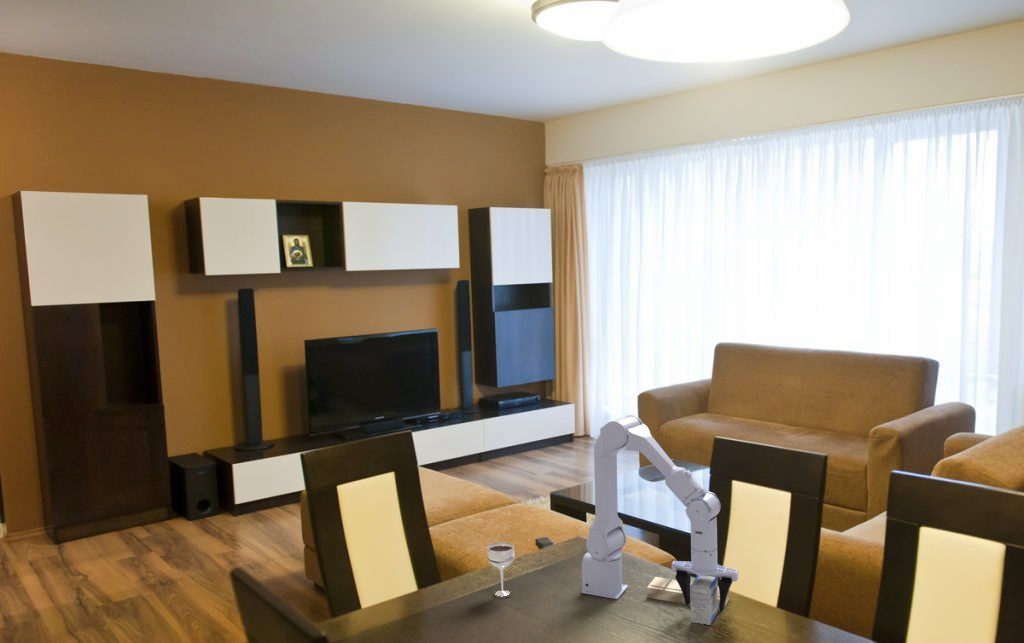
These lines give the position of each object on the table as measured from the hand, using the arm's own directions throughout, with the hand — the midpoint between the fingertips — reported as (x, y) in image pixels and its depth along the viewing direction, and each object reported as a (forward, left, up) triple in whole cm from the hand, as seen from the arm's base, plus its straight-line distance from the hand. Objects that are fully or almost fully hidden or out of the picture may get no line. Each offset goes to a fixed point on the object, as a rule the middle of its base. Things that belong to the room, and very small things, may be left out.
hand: (704, 606), depth 173 cm
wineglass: (-48, -8, -3) cm, 49 cm away
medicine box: (0, 0, -3) cm, 3 cm away
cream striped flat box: (-6, +8, -2) cm, 11 cm away
